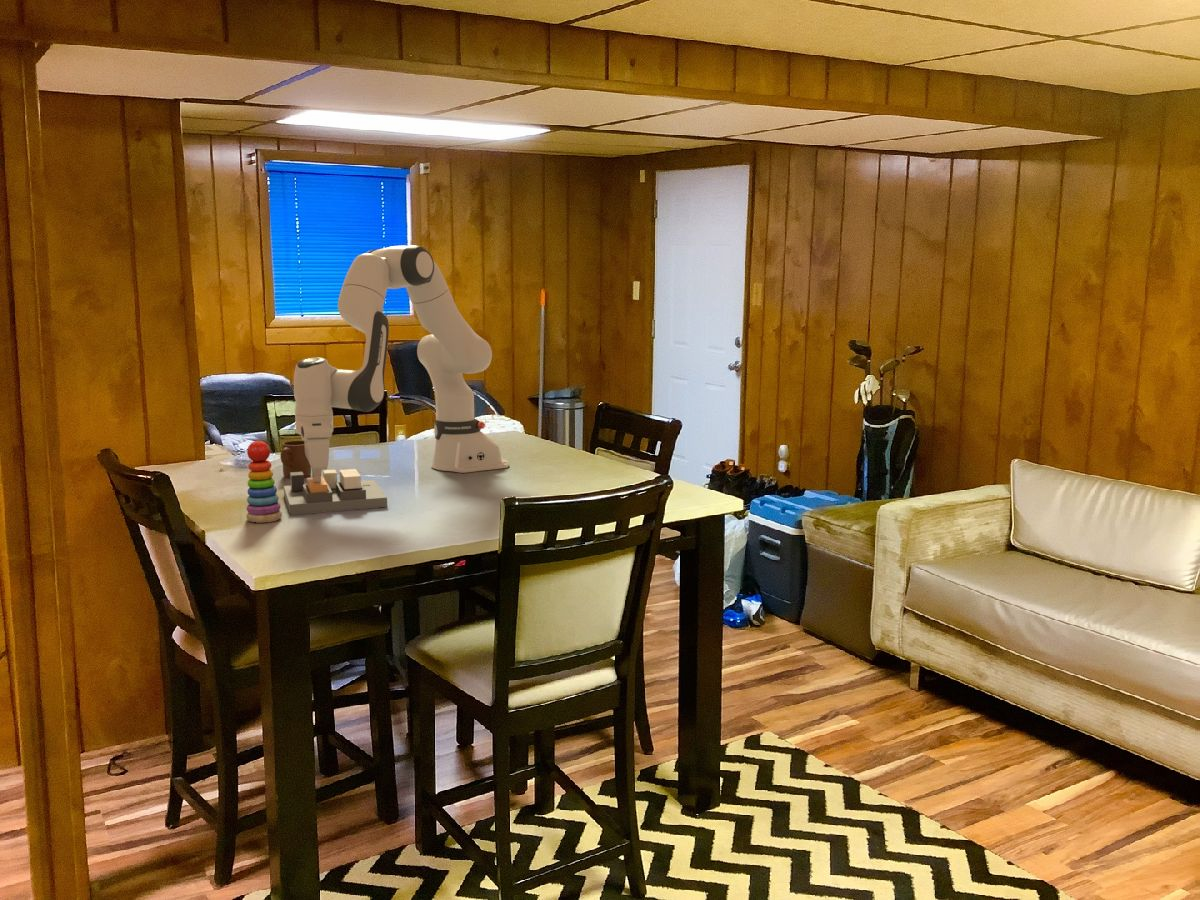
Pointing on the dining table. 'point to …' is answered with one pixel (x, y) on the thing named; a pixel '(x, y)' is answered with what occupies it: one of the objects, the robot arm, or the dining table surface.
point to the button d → (350, 479)
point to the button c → (316, 486)
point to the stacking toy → (261, 486)
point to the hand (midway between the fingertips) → (316, 481)
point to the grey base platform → (335, 498)
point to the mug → (294, 458)
